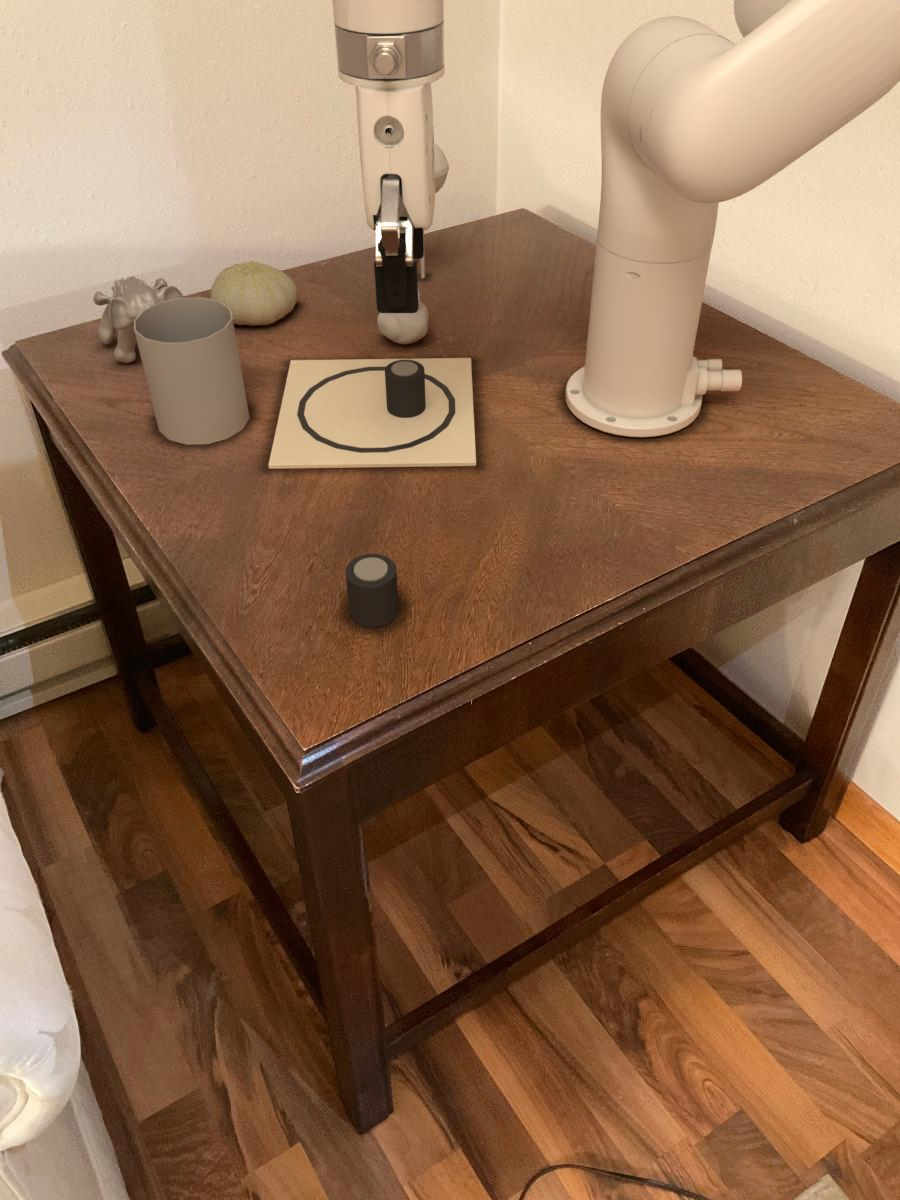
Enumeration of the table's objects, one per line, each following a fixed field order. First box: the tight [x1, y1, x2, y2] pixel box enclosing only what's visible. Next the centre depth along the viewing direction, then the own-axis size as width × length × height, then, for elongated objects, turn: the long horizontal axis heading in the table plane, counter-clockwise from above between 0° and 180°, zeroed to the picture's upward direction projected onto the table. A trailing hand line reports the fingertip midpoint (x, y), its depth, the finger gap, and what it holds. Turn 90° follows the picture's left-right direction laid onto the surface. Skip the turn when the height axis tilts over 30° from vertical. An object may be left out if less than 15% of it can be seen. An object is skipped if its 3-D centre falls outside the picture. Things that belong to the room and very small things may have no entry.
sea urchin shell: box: [209, 260, 298, 327], centre depth 105 cm, size 9×8×8 cm
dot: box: [345, 553, 400, 629], centre depth 71 cm, size 4×4×4 cm
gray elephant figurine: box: [92, 275, 185, 364], centre depth 98 cm, size 9×12×8 cm
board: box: [268, 357, 477, 470], centre depth 92 cm, size 18×18×1 cm
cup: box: [134, 296, 251, 446], centre depth 88 cm, size 8×8×10 cm
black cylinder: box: [385, 360, 426, 418], centre depth 90 cm, size 4×4×4 cm
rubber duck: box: [376, 287, 430, 345], centre depth 100 cm, size 5×7×8 cm
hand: (401, 283), depth 81 cm, fingers open, 9 cm apart
